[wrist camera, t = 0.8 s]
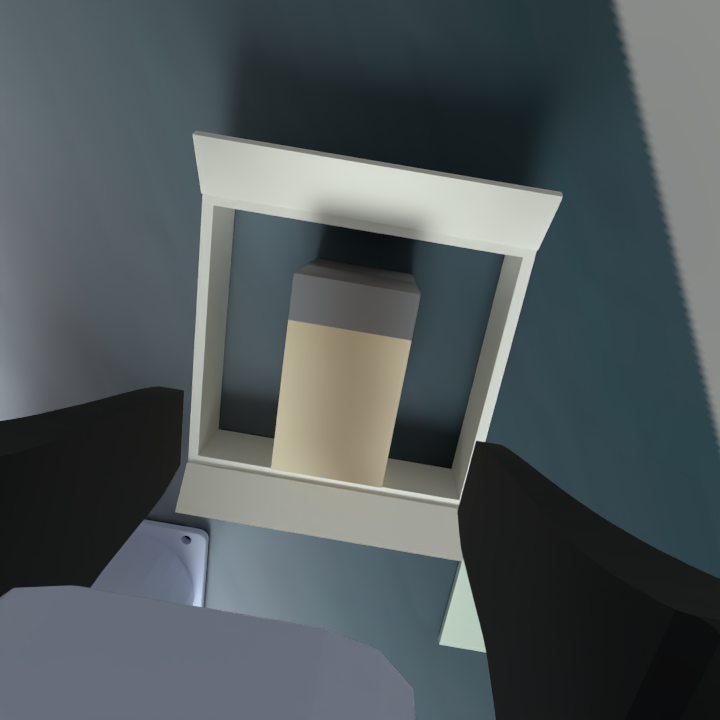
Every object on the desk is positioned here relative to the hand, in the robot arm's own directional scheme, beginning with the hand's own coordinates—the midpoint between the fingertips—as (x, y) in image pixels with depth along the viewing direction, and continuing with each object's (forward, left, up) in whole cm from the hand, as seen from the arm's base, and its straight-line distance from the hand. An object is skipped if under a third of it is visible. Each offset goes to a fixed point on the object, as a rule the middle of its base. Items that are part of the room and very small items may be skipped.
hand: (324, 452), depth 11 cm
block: (0, 0, -9) cm, 9 cm away
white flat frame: (0, 0, -9) cm, 9 cm away
